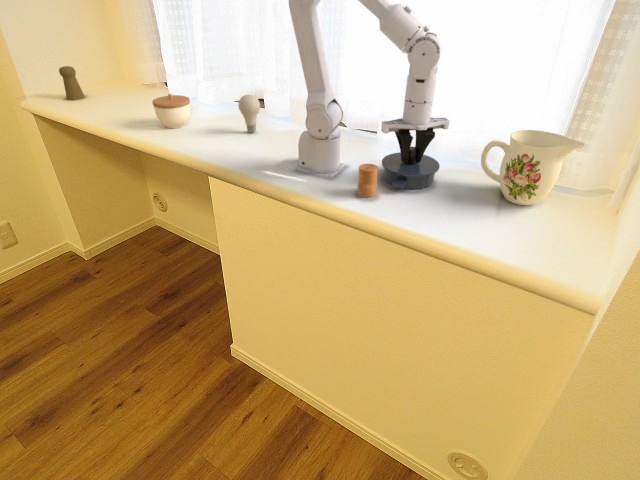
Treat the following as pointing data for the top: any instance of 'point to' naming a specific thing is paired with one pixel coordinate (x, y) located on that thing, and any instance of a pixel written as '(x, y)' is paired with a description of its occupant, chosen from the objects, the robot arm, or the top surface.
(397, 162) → the lid
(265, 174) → the top surface
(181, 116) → the trinket box
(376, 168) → the peg
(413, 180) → the pot
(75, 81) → the grey-brown tapered knobbed cylinder
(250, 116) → the lightbulb
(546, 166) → the pitcher
